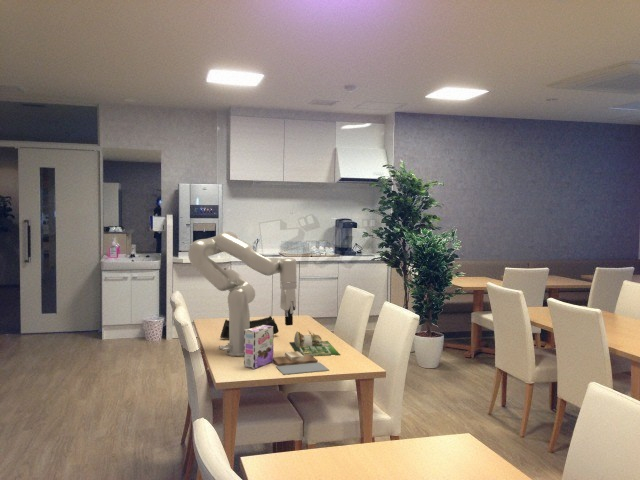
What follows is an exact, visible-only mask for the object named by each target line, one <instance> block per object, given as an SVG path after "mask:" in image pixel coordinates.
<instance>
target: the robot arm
mask: <svg viewBox="0 0 640 480" xmlns="http://www.w3.org/2000/svg"><path fill="white" fill-rule="evenodd" d="M221 253H226V254H228V255H230V256H232V257H234V258H236V259H237V260H239V261H240V262H241V261H242V263H243V264H245V265H246V266H247V267H248V268H250V269H252V270H253V271H256V272H258V273H260V274H261V275H264V276H267V277H268V276H269V277H270V276H272V275H276V274H279V289H280V301H279V302H280V303H279V304H280V305H279V307H280V309H281V310H283V311H284V325H285V326H293V324H294V323H293V322H294V320H293V319H294V317H293V316H294V311H296V309H297V297H296V289H297V281H298V280H297V261H296V259H295V258H289V257H287V258H285V257H284V258H279V257H269V258H267V257H265V256H264V255H261V254H260V253H258V252H257V251H255V250H254V249H253V247H252V245H251V244H250V243H249V242H246V241H244V240H242V239H240V238H238V235H237V234H236V233H234V232H231V231H222V232H220V233H218V234H217V235H215V236H212V237H208V238H201V239H196V240H194V241H193V242H192V243H190V245H189V248H188V260H189V262H190V264H191V266H192V267H193V268H194V269H195V270H196V271H197V272H198V273H199V274H201V275H202V277H204V278H205V279H206V280H207V281H208V282H209V283H210V284H211V285H212V286H213V287H215V289H216V290H218V291H220V292H226V291H228V294H227V304H228V316H229V317H228V320H229V338H228V342H227V344H225V345H219V346H218V350H219V351H225V354H226V355H227V356H231V357H244V330H246V329H250V321H251V320H250V317H251V316H250V315H251V313H250V307H249V304H250V303H251V302H253V301H254V299H255V297H256V290H255V288H254V287H253V286H252V285H251V283H249V282H248V281H247V280H246V279H245V277H243V276H242V275H240V274H239V273H238V272H237V271H235V270H233V269H229V268H228V269H224V268H222V267H221V266H220V265H219V264H218V263H216V262H215V261H214V260H212V259H211V258H210V256H214V255H217V254H221Z"/></svg>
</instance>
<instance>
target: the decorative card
mask: <svg viewBox="0 0 640 480" xmlns="http://www.w3.org/2000/svg"><path fill="white" fill-rule="evenodd" d="M307 331H308V333H309V334H302V333H301V332H300V331H296V332H295V334H294V338H293V339H294V341H290V342H289V345H290V346H291V348H292V350H293V352H295V351H298V352H299V353H301V354H302V355H311V356H313V357H329V356H330V357H331V355H335V356H341V354H340V353H339V352H338V350H337V349H336V348H335V347H334V346H333V345H332V343H330V341H328V340H322V337H321V336H320V335H319V334H315V333H312V332H310V331H309V329H307Z"/></svg>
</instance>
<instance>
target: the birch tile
mask: <svg viewBox="0 0 640 480" xmlns="http://www.w3.org/2000/svg"><path fill="white" fill-rule="evenodd" d="M284 357H286V358H287V359H288V360H289V361H291V362H295V361H304V356H303V355H302V354H301V353H299V352H298V351H285V352H284Z"/></svg>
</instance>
